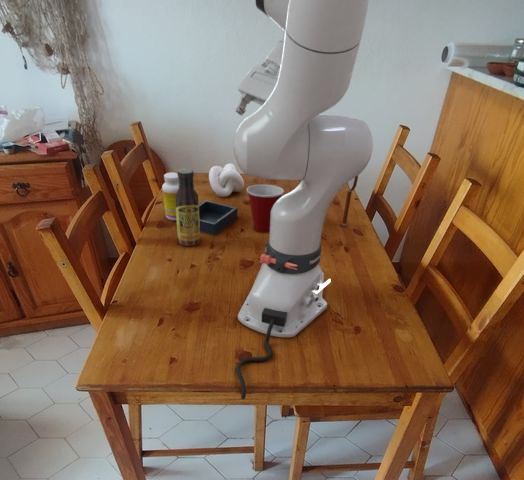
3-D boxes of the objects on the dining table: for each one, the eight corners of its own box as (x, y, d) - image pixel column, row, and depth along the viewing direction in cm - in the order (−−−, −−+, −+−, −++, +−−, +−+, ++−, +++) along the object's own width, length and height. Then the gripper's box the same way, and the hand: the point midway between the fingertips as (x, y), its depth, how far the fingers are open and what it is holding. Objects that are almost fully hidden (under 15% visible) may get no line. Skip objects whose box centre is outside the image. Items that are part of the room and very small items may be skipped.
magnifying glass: (349, 232, 126) (362, 163, 113) (343, 232, 126) (355, 163, 113) (343, 219, 133) (354, 153, 119) (338, 219, 132) (349, 153, 119)
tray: (214, 235, 122) (214, 224, 119) (182, 226, 125) (181, 215, 123) (237, 218, 131) (237, 207, 129) (206, 210, 135) (205, 200, 132)
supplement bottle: (183, 222, 127) (179, 180, 119) (162, 220, 128) (157, 178, 119) (189, 213, 132) (186, 172, 124) (169, 211, 133) (164, 170, 124)
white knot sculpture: (222, 202, 139) (221, 175, 133) (201, 192, 146) (199, 165, 140) (247, 194, 145) (248, 168, 139) (226, 184, 152) (225, 159, 146)
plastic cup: (282, 221, 130) (285, 182, 122) (280, 237, 122) (282, 197, 114) (248, 219, 131) (248, 180, 123) (243, 234, 123) (243, 194, 115)
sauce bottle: (179, 248, 115) (171, 175, 102) (177, 238, 120) (169, 167, 106) (203, 246, 117) (198, 173, 103) (199, 236, 121) (194, 165, 108)
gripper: (254, 51, 104) (220, 99, 106) (299, 63, 91) (259, 117, 93) (268, 71, 108) (235, 117, 111) (313, 86, 95) (275, 137, 98)
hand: (247, 117), depth 102 cm, fingers open, 8 cm apart
